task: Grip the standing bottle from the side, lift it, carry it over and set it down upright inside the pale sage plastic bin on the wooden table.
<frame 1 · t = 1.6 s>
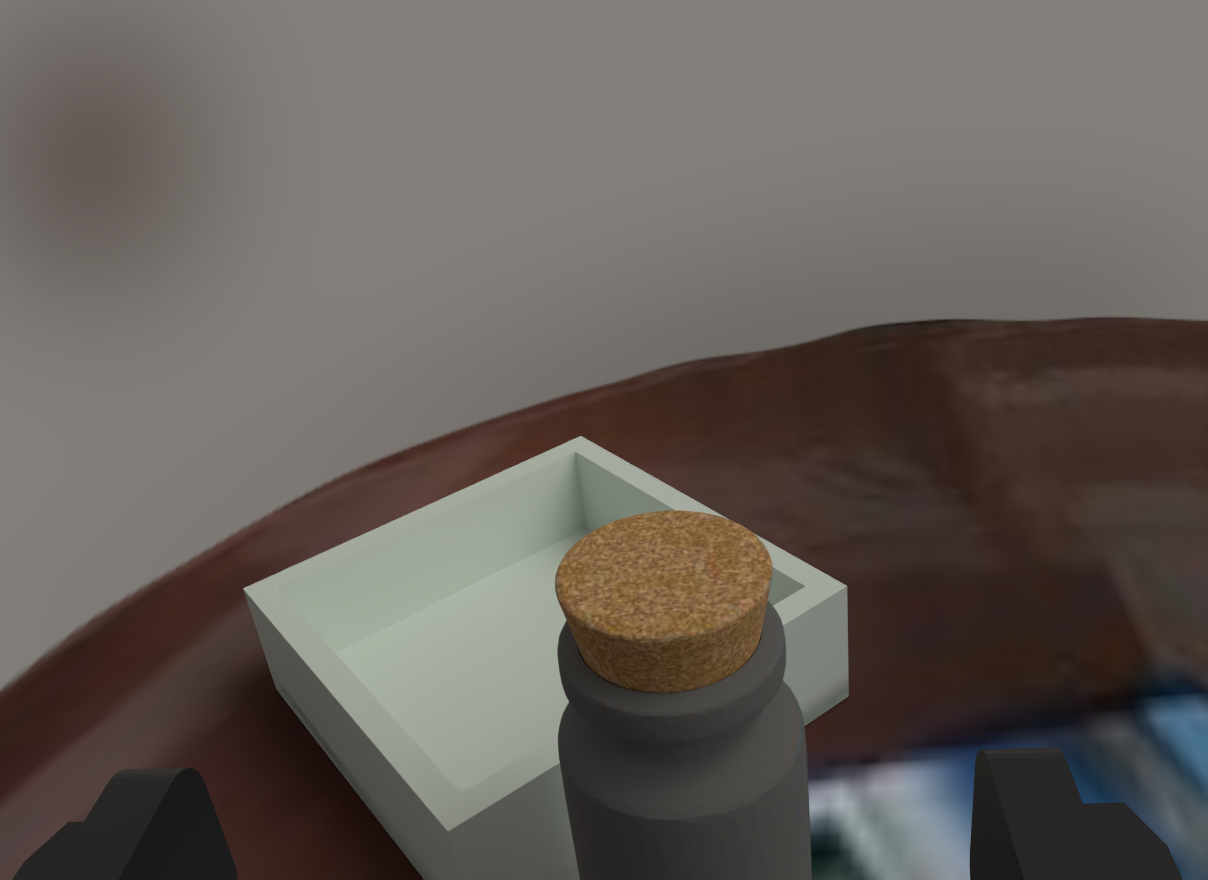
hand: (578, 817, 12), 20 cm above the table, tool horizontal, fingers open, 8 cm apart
bin: (548, 692, 44), on the table
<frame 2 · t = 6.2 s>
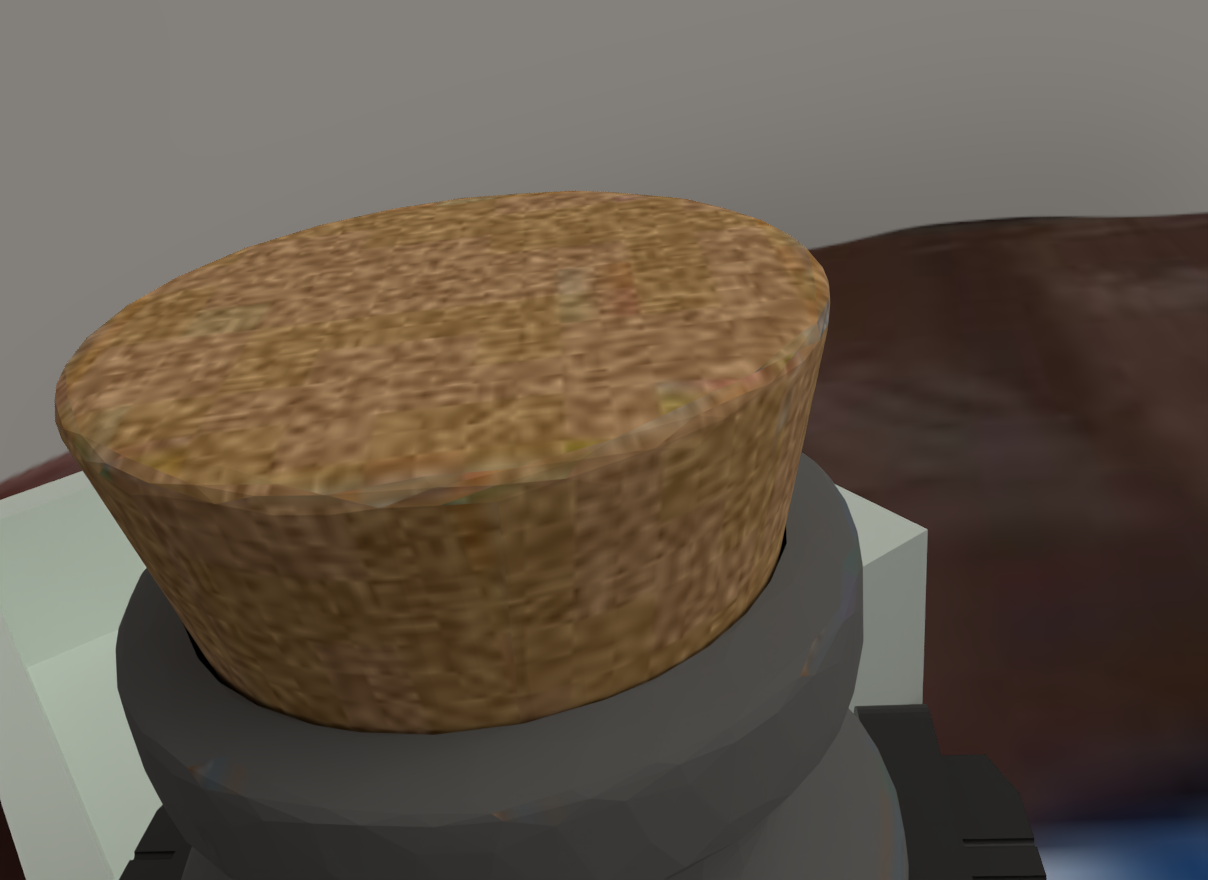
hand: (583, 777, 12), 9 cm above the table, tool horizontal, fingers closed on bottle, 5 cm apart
bin: (417, 711, 26), on the table
when the fingers open (11 cm above the table, at t = 10.8 s): bottle moves 2 cm, resting on bin.
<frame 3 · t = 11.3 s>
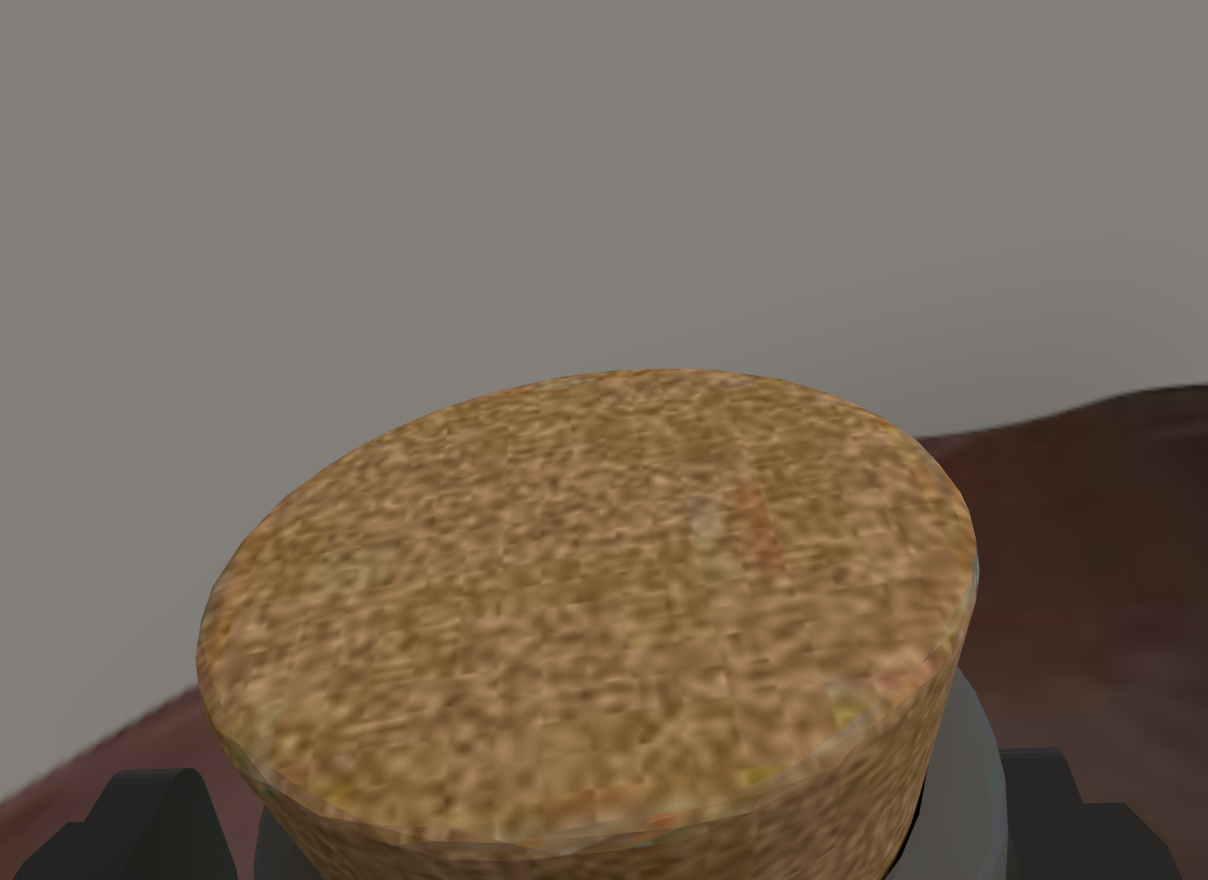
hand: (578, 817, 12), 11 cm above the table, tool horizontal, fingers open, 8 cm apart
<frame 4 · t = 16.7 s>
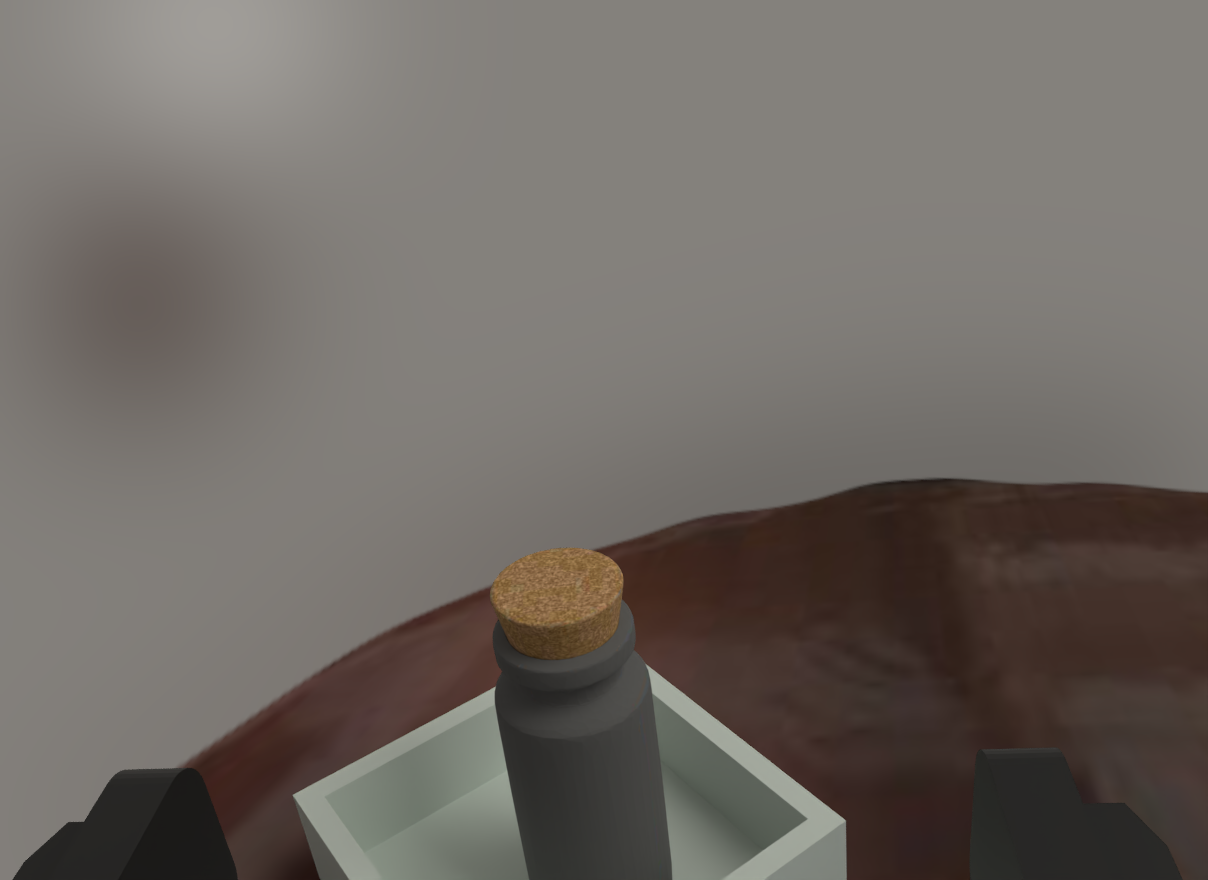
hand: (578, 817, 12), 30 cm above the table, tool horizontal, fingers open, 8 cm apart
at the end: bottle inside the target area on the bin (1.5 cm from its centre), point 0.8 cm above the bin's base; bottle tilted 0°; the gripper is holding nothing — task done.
